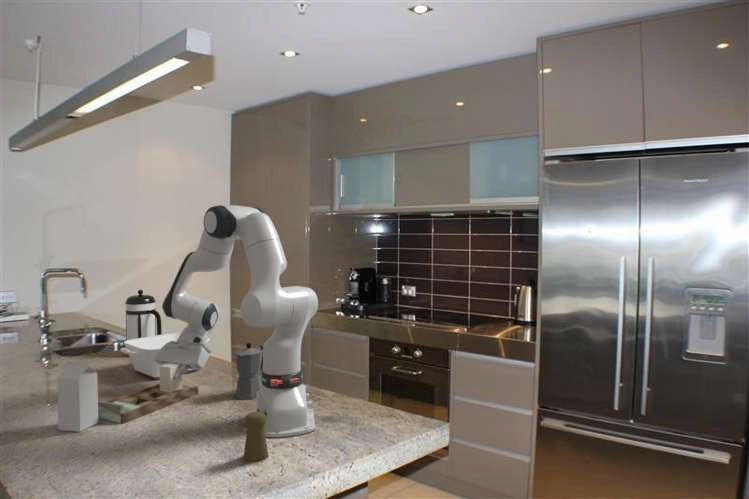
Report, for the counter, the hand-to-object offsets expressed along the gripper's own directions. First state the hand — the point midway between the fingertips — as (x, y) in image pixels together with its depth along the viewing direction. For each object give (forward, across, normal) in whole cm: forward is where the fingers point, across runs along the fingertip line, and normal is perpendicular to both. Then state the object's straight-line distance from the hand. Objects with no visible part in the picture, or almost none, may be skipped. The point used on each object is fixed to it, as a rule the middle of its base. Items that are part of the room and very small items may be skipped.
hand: (169, 377), depth 173 cm
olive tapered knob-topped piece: (+24, +57, -14) cm, 64 cm away
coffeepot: (-4, +25, +14) cm, 28 cm away
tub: (-11, -25, +21) cm, 35 cm away
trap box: (+11, 0, -2) cm, 11 cm away
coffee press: (-24, -58, +33) cm, 71 cm away
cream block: (+3, 0, +4) cm, 4 cm away
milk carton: (+27, -2, -17) cm, 32 cm away
